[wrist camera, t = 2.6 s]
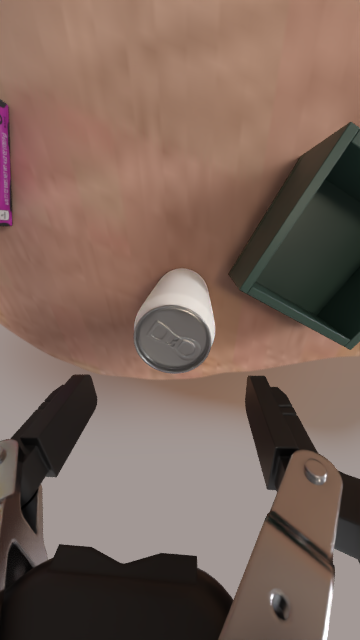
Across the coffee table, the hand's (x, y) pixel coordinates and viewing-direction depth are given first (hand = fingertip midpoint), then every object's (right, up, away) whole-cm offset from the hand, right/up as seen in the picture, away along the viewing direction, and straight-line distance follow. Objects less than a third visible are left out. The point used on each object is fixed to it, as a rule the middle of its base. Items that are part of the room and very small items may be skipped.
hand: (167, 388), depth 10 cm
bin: (+15, +11, +12) cm, 22 cm away
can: (+1, +7, +15) cm, 17 cm away
